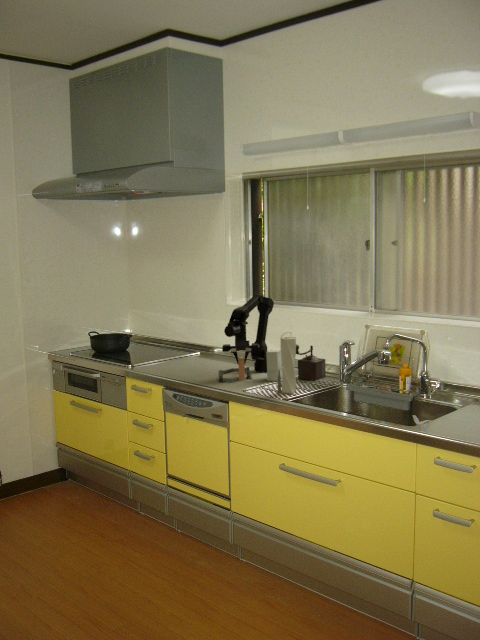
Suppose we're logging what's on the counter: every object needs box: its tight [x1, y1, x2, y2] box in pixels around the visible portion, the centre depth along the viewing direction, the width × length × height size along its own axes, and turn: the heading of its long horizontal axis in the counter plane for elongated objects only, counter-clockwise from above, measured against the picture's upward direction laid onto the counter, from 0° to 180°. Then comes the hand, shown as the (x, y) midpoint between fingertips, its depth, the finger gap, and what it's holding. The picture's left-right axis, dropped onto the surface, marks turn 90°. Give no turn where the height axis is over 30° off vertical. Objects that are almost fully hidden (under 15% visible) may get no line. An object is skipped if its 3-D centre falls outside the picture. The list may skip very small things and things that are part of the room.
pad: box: [215, 377, 239, 384], centre depth 336 cm, size 5×11×1 cm, turn 45°
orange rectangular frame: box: [237, 357, 246, 381], centre depth 339 cm, size 3×8×10 cm, turn 0°
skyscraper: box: [277, 331, 297, 395], centre depth 308 cm, size 8×8×28 cm
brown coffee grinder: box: [296, 343, 327, 382], centre depth 334 cm, size 16×11×18 cm
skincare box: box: [266, 349, 283, 382], centre depth 334 cm, size 8×6×15 cm
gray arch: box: [217, 366, 252, 383], centre depth 336 cm, size 17×9×6 cm, turn 90°
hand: (241, 364), depth 338 cm, fingers closed on orange rectangular frame, 3 cm apart
